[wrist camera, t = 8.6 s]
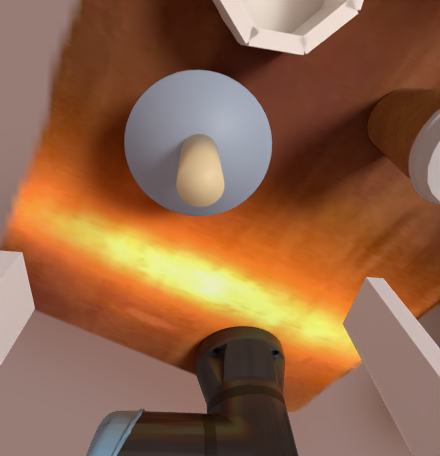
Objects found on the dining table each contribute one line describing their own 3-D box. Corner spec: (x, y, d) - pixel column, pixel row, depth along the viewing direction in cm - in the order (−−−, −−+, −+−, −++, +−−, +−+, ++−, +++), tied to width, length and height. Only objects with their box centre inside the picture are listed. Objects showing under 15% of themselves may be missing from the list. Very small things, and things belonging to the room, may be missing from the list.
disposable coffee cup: (336, 148, 34) (395, 194, 24) (385, 55, 29) (485, 64, 19) (404, 172, 36) (485, 223, 26) (460, 89, 32) (586, 113, 21)
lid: (253, 216, 31) (270, 266, 24) (127, 204, 29) (106, 254, 23) (285, 82, 25) (319, 98, 18) (125, 57, 23) (95, 64, 16)
